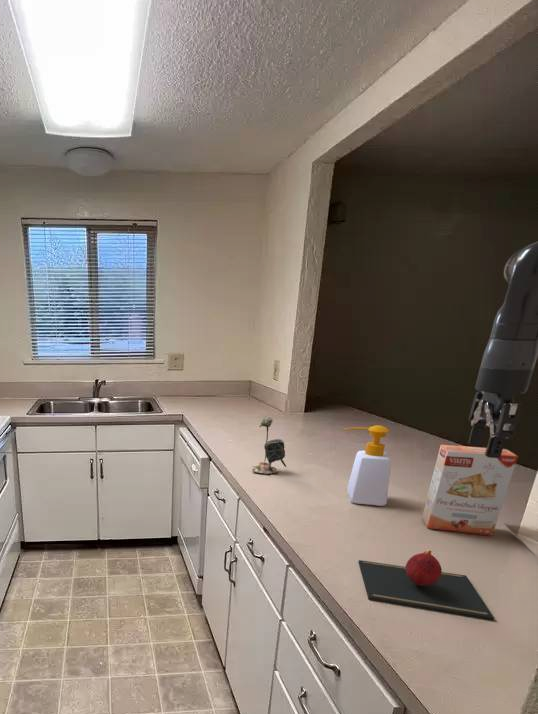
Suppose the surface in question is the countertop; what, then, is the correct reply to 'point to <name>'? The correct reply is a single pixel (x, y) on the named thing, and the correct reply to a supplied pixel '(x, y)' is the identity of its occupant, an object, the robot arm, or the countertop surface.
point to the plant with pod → (270, 451)
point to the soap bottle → (370, 471)
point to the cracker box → (467, 489)
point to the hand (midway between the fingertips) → (483, 450)
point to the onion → (423, 569)
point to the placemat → (423, 591)
